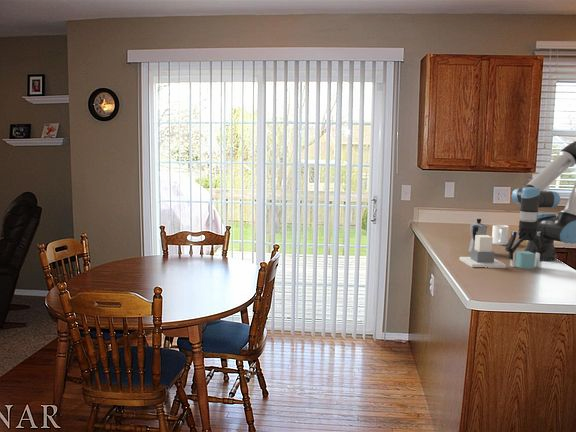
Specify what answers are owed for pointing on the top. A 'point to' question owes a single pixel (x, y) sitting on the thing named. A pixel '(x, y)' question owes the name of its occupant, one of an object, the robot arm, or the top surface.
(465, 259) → the tower base
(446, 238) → the top surface
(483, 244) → the cream block
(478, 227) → the coffee maker
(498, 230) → the mug
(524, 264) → the teal block
